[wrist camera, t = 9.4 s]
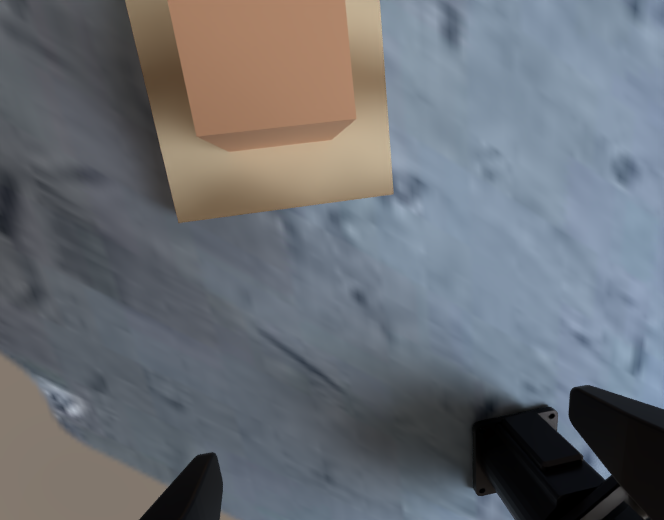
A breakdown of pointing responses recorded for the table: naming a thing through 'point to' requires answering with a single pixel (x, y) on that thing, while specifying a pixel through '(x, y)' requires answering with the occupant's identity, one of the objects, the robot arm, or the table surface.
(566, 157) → the table surface
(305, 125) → the block
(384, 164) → the base slab
